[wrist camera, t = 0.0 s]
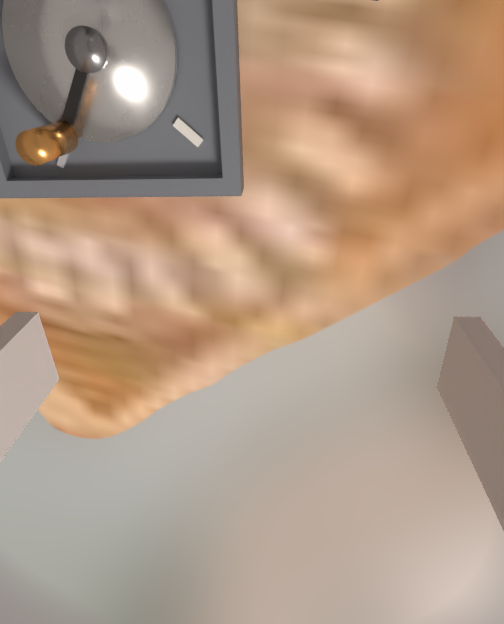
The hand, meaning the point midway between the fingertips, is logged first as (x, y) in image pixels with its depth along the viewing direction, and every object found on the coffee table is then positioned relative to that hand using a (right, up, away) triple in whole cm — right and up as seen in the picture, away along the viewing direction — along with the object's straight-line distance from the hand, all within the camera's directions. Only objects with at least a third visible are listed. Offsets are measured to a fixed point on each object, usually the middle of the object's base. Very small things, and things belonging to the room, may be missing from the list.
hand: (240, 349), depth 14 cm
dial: (-12, +21, +20) cm, 31 cm away
